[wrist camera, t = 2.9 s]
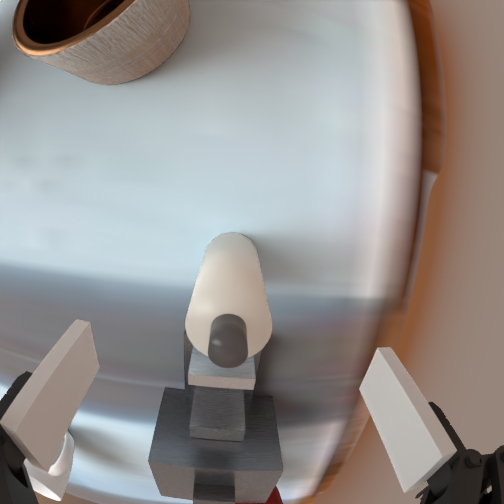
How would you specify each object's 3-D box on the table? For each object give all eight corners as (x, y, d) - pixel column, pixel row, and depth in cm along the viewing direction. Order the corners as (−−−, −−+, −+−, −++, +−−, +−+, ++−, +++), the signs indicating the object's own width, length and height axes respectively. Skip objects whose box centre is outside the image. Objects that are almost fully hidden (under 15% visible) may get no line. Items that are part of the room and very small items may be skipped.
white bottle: (206, 229, 23) (178, 306, 11) (261, 235, 23) (285, 316, 12) (202, 280, 24) (180, 381, 13) (254, 285, 24) (268, 388, 13)
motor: (160, 321, 25) (123, 421, 14) (288, 332, 26) (315, 436, 15) (172, 444, 32) (162, 514, 21) (256, 451, 33) (262, 521, 22)
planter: (218, 7, 16) (210, -62, 7) (136, 107, 19) (75, 84, 10) (127, -27, 14) (89, -79, 5) (55, 63, 16) (-12, 40, 7)
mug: (55, 396, 29) (21, 462, 17) (107, 441, 32) (88, 507, 20) (20, 409, 31) (-8, 459, 19) (63, 447, 34) (44, 497, 22)
